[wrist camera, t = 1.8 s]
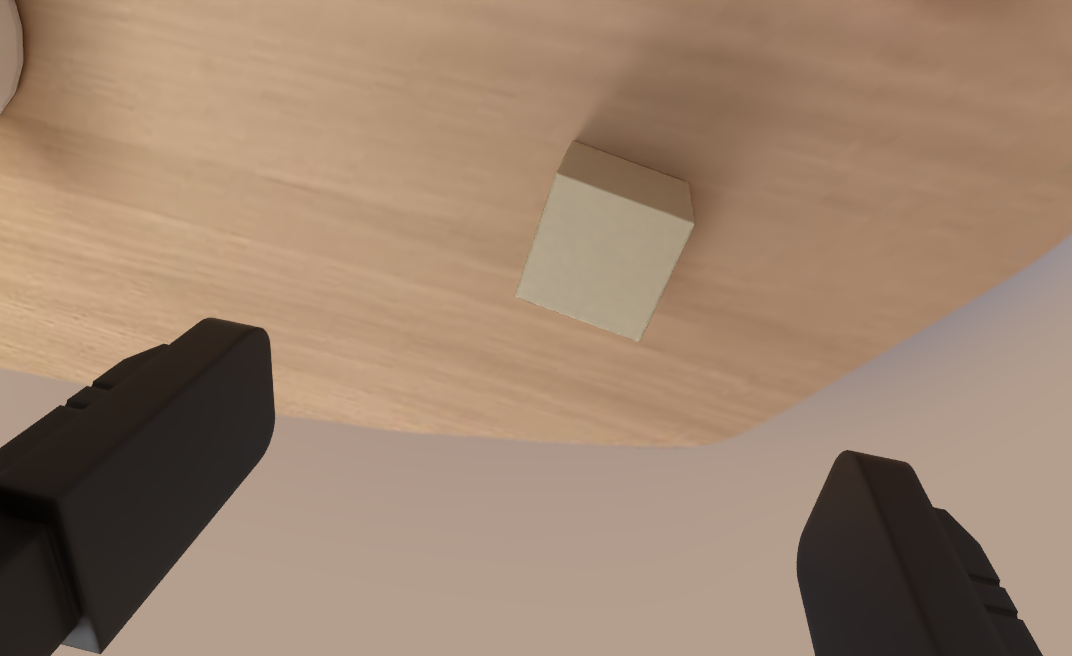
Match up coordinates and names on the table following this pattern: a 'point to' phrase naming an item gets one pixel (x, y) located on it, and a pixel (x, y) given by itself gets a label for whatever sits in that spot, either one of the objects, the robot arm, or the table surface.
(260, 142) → the table surface
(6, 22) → the mug
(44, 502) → the robot arm
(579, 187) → the cream block
